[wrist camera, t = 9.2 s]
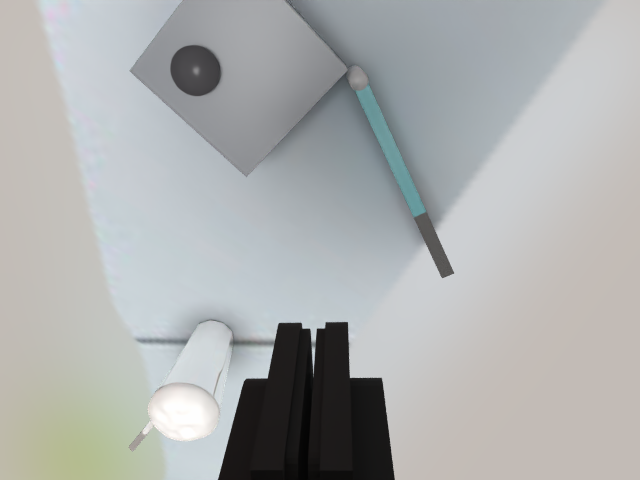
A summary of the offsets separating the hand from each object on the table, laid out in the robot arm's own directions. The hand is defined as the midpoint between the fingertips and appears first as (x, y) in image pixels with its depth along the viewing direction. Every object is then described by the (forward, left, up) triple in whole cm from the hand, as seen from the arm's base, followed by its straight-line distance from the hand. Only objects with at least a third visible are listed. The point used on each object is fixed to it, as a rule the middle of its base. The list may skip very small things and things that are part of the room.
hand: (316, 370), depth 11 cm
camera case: (-1, -7, -21) cm, 22 cm away
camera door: (-3, +3, -21) cm, 21 cm away
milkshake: (+17, +4, -21) cm, 27 cm away
